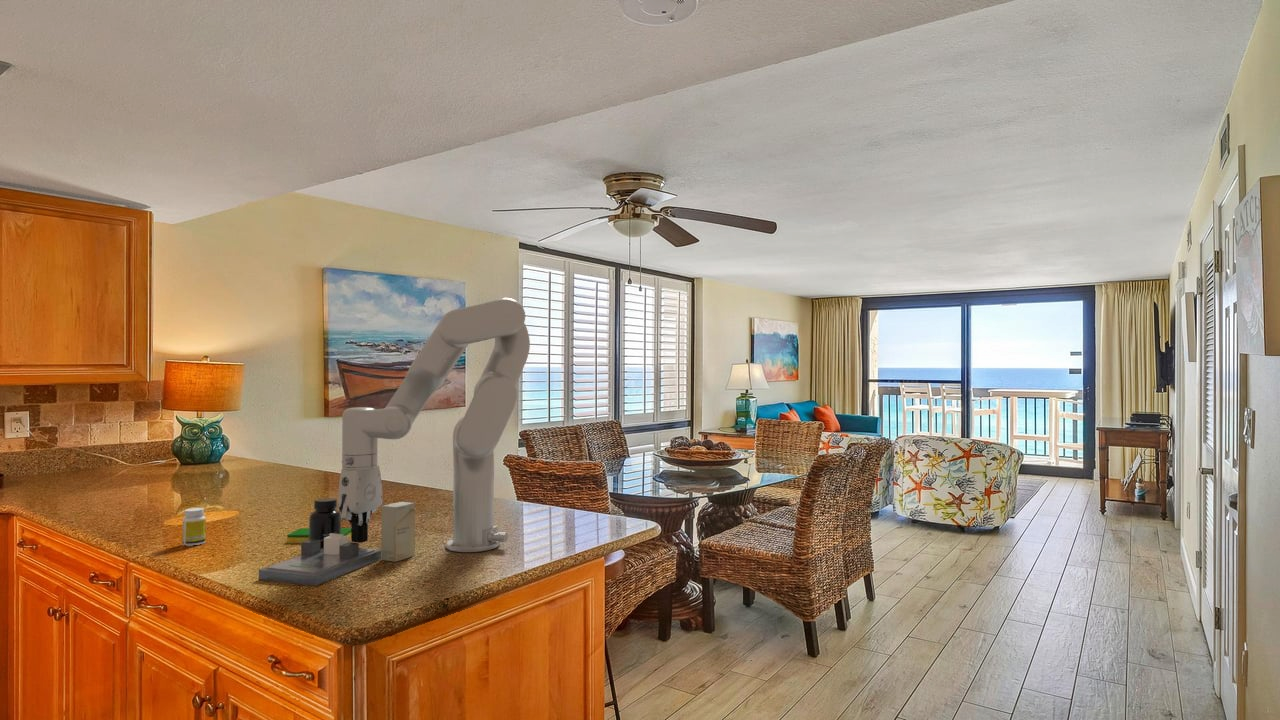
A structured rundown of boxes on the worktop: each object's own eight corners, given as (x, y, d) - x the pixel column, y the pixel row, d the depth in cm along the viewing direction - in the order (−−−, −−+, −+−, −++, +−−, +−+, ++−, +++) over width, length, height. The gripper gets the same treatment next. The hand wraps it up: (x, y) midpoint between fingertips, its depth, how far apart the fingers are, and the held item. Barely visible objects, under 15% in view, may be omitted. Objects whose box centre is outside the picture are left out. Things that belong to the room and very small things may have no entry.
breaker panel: (381, 559, 156) (381, 536, 156) (315, 586, 137) (315, 560, 137) (329, 554, 160) (329, 531, 160) (258, 579, 141) (258, 554, 141)
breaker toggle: (348, 552, 153) (348, 533, 153) (339, 555, 150) (339, 536, 150) (333, 550, 154) (333, 532, 154) (323, 554, 151) (323, 535, 151)
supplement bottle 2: (328, 555, 158) (328, 503, 159) (302, 554, 160) (302, 501, 160) (347, 548, 165) (347, 497, 165) (321, 546, 167) (321, 496, 167)
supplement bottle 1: (210, 542, 170) (210, 508, 170) (190, 547, 166) (190, 512, 166) (197, 540, 172) (197, 506, 172) (178, 545, 168) (178, 510, 168)
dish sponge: (343, 544, 170) (343, 534, 170) (286, 544, 170) (286, 535, 170) (354, 537, 178) (354, 527, 178) (299, 537, 177) (299, 528, 177)
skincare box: (395, 562, 153) (395, 507, 153) (380, 560, 155) (380, 505, 155) (415, 555, 159) (415, 502, 159) (400, 553, 161) (401, 500, 161)
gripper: (351, 466, 151) (350, 551, 151) (394, 457, 165) (393, 535, 165) (322, 465, 153) (322, 548, 153) (367, 456, 168) (367, 532, 167)
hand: (359, 541), depth 159 cm, fingers closed
